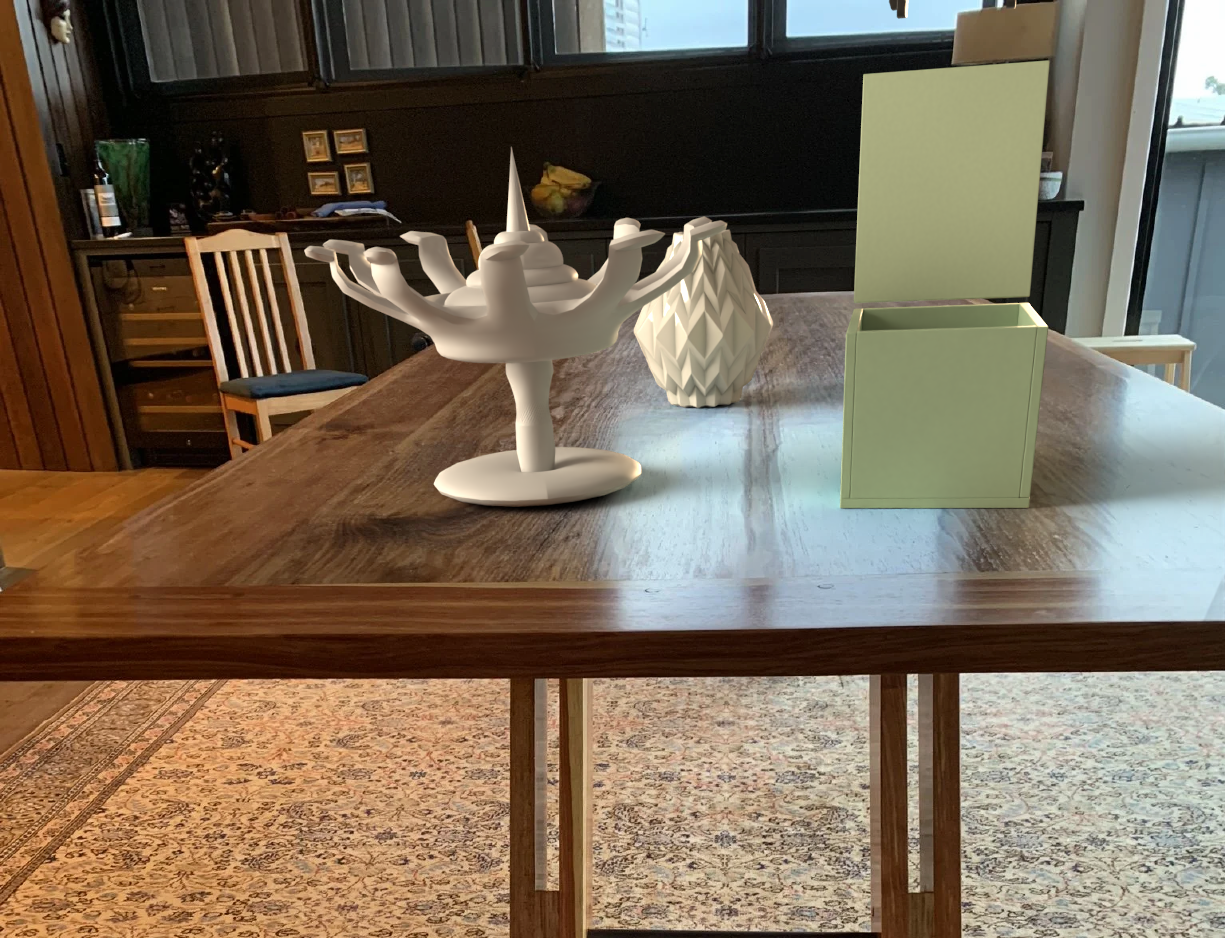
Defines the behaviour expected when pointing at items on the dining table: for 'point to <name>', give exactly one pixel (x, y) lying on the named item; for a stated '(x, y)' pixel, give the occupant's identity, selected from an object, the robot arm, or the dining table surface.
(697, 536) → the dining table surface
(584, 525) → the dining table surface
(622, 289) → the candelabra
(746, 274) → the vase
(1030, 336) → the chest
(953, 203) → the lid
